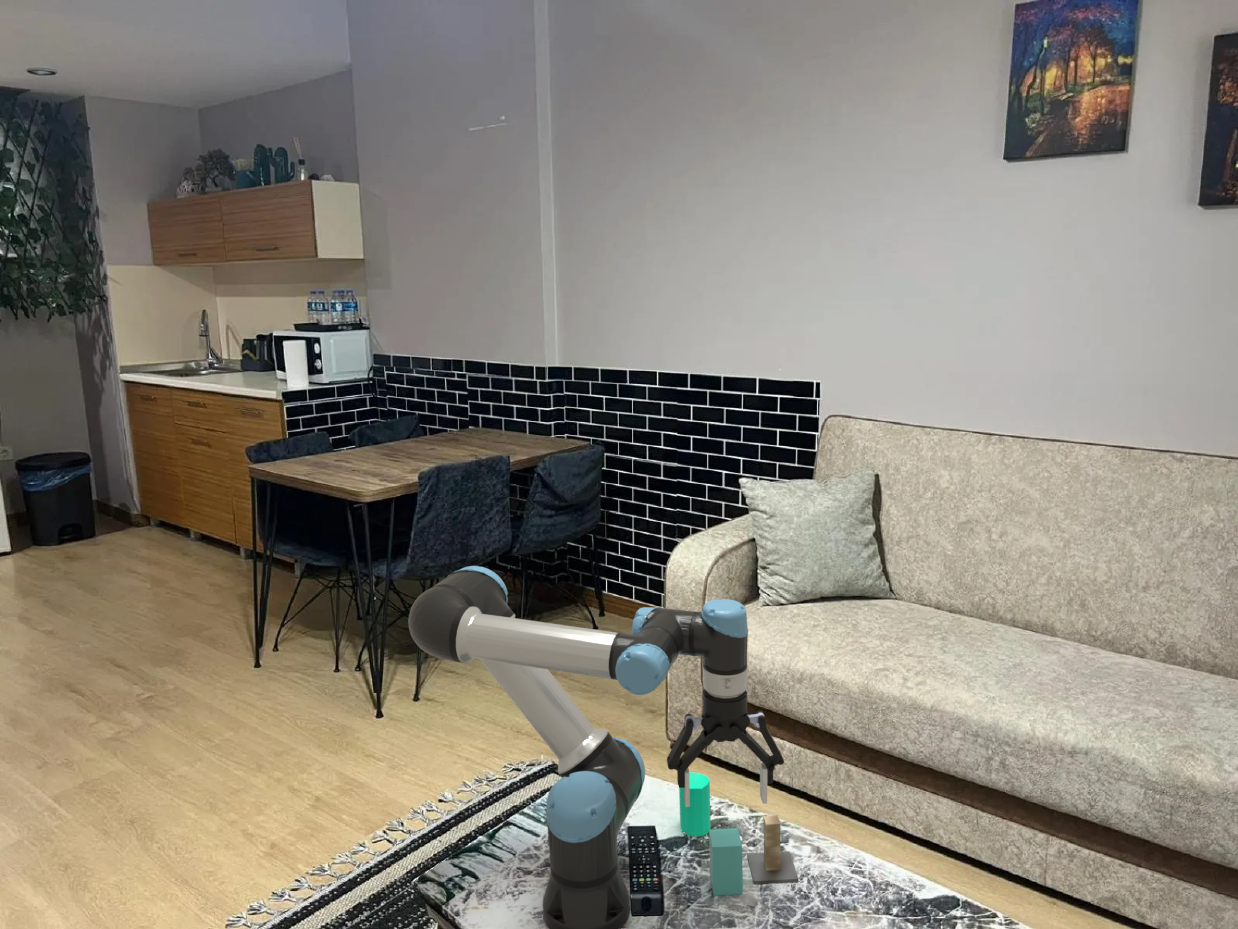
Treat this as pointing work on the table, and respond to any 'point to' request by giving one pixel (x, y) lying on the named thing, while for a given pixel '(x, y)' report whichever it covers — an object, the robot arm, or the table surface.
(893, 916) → the table surface
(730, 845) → the turquoise rectangular block
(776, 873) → the gray square base stand
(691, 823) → the candle
